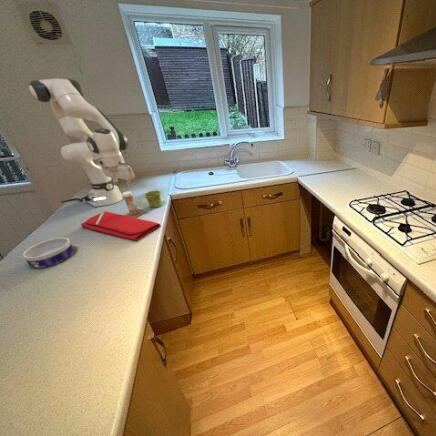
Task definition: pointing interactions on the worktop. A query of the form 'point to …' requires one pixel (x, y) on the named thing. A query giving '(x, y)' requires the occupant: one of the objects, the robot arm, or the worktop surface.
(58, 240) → the dog bowl
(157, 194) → the plant pot
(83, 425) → the worktop surface
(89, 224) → the dish drying mat
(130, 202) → the sprinkles bottle
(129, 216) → the coaster
